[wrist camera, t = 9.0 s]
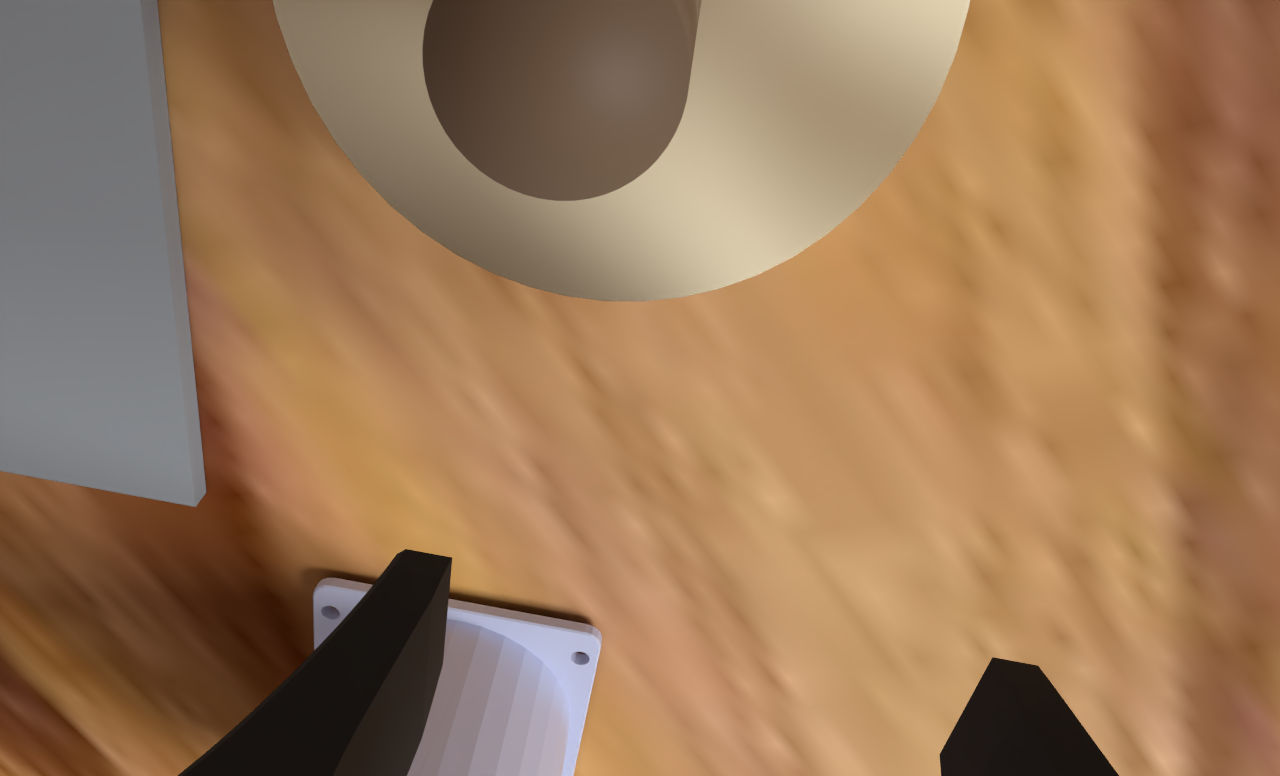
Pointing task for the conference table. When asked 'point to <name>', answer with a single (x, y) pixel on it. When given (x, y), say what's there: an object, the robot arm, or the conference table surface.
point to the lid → (623, 125)
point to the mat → (92, 255)
